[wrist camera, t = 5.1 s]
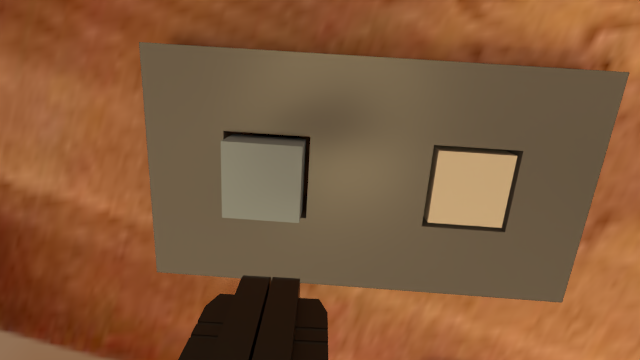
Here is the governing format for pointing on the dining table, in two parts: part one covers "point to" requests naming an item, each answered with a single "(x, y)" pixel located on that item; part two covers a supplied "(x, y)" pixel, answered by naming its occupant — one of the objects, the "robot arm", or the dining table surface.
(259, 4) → the dining table surface
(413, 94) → the key panel
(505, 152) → the tan square block
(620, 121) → the dining table surface
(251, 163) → the gray key
